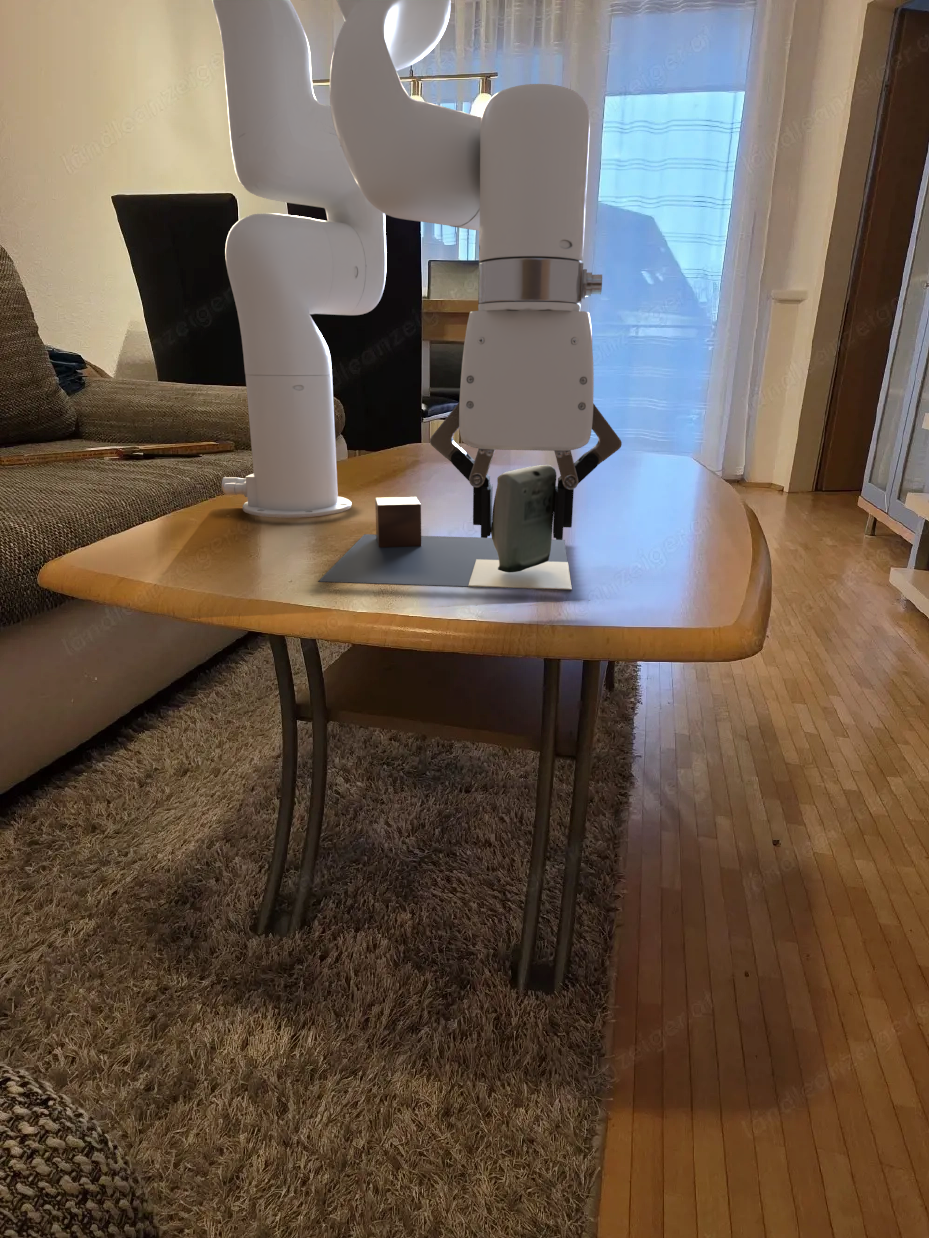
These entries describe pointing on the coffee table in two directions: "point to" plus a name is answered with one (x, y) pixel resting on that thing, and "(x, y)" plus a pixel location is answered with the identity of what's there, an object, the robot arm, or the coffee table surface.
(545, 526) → the grey charger brick
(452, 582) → the mat
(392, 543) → the walnut block
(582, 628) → the coffee table surface
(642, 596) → the coffee table surface
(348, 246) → the robot arm
